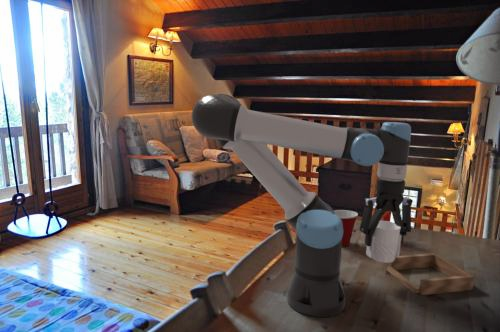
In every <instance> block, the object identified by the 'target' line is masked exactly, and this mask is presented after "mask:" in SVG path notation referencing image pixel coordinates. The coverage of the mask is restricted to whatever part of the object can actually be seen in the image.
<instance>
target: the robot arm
mask: <svg viewBox="0 0 500 332" xmlns="http://www.w3.org/2000/svg"><path fill="white" fill-rule="evenodd" d="M191 121H192V124H193V127H194V128H195V131H197V132H198V133H199V134H200V135H201V136H202V137H205V138H208V139H212V140H215V141H216V142H217V143H218V144H219V146H221V148H222V149H226V150H231V151H232V152H233V153H234V154H235V156H236V157H237V158H238V159H239V160H240V161H241V162H242V163H243V165H244V166H245V167H246V168H247V169H248V170H249V172H251V174H252V175H253V176H254V177H255V178H256V179H257V181H258V182H259V183H260V184H261V185H262V186H263V188H265V190H266V191H267V192H268V193H269V194H270V195H271V197H272V198H273V199H274V200H275V201H276V202H277V203H278V204H279V206H280V207H281V208H282V209H283V210H284V213H285V214H284V219H285V220H286V222H287V223H289V225H290V226H291V227H292V228H293V230H294V231H295V233H296V235H295V253H294V254H295V255H294V257H295V260H294V272H293V275H292V277H291V280H290V282H289V285H288V288H287V292H286V301H287V304H288V305H289V306H290V307H291V308H292V309H293V310H294V311H296V312H298V313H300V314H303V315H306V316H311V317H317V318H326V317H332V316H333V317H334V316H335V315H338V314H340V313H341V312H342V311H344V308H345V306H346V295H345V291H344V287H343V283H342V280H341V279H342V278H341V263H342V260H341V259H342V237H343V223H342V220H341V219H340V218H339V216H337V215H336V214H335V213H334V209H333V208H332V207H331V206H330V204H328V203H326V202H324V201H323V200H322V199H321V197H320V196H318V194H317V193H316V192H315V191H314V192H313V191H307V190H306V188H305V187H304V186H303V185H302V184H301V182H299V180H298V179H297V178H296V177H295V176H294V175H293V173H291V171H290V170H289V169H288V168H287V166H285V164H284V163H283V162H282V161H281V160H280V158H279V157H278V156H277V155H276V154H275V153H274V152H273V151H272V149H271V148H270V147H269V146H275V147H281V148H285V149H290V150H294V151H295V150H296V151H301V152H306V153H311V154H316V155H320V156H321V155H322V156H326V157H331V158H336V159H341V160H345V161H350V162H353V163H356V164H357V165H359V166H364V167H371V166H374V165H376V164H378V165H377V173H376V175H377V178H376V181H375V182H376V183H375V195H374V196H373V197H371V198H368V197H365V198H364V209H363V213H362V216H361V222H360V224H359V225H360V226H359V231H360V232H361V233H363V234H364V235H365V236H364V237H365V239H364V244H365V246H366V251H365V255H366V256H367V257H369V258H370V259H372V258H373V255H374V246H375V236H374V235H373V234H374V232H375V230H376V227H377V225H378V223H379V221H380V219H381V217H382V215H384V214H385V212H387V211H391V216H392V219H393V223H395V224H396V225H397V226H400V227H401V230H400V235H399V241H398V246H397V251H396V256H397V257H399V256H400V253H401V246H402V245H403V243H404V237H405V236H407V234H408V233H410V232H412V204H413V199H411V198H410V197H407V196H405V197H404V193H405V189H406V188H405V187H406V181H405V179H406V178H407V170H408V161H409V153H410V145H411V137H412V136H411V135H412V127H411V125H410V124H409V123H406V122H399V121H398V122H396V121H391V122H390V121H385V122H383V123H382V126H381V127H380V128H361V127H360V128H359V127H358V128H357V127H351V126H349V127H340V126H334V125H330V124H329V125H328V124H324V123H319V122H314V121H309V120H303V119H298V118H293V117H289V116H283V115H278V114H272V113H269V112H263V111H256V110H252V109H248V108H247V107H246V106H245V105H244V104H242V103H241V102H240V101H239V100H238V99H237V98H235V97H234V96H232V95H229V94H227V93H218V94H207V95H205V96H202V97H201V98H199V99H198V100H197V101H196V103H195V104H194V106H193V109H192V111H191ZM268 145H269V146H268ZM375 202H376V204H377V205H376V207H375V209H374V213H373V215H372V212H373V206H374V205H375V204H374V203H375ZM400 206H401V208H400ZM380 209H381V210H380Z"/></svg>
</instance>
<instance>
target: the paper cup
mask: <svg viewBox="0 0 500 332" xmlns="http://www.w3.org/2000/svg"><path fill="white" fill-rule="evenodd" d="M374 204H375V205H374V206H373V212H372V215H373V213H374V209H375V207H376V205H377V204H376V202H375V203H374ZM380 210H381V209H380ZM391 217H392V212H391V211H387V212H385V214H384V215H382V217H381V219H380V221H388V222H391V219H392V218H391Z"/></svg>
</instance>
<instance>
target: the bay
mask: <svg viewBox="0 0 500 332" xmlns="http://www.w3.org/2000/svg"><path fill="white" fill-rule="evenodd" d="M388 264H389V265H388V266H387V267H386V272H388V273H389V274H390V275H392V276H393V277H394V278H396V280H398V281H399V282H400V283H401V284H403V285H404V286H406V288H408V289H409V290H410V291H411V292H412V293H413V294H420V295H421V296H424V295H425V296H427V295H435V294H446V293H454V292H464V291H466V292H467V291H473V289H474V288H473V287H474V281H475V280H474V279H475V277H474V276H473V275H472V274H470V273H468V272H467V271H466V270H463V269H462V268H461V267H459V266H457V265H456V264H453V263H452V262H451V261H449V260H447V259H446V258H444V257H442V256H441V255H439V254H437V253H435V252H432V253H422V254H421V253H420V254H408V255H407V254H406V255H399V257H397V256H395V260H394V261H393V262H390V263H388ZM431 267H432V268H434V269H436V270H437V271H439V272H440V273H442V274H443V275H445V276H444V277H433V278H422V279H420V283H419V287H418V286H417V285H415V284H414V283H413V282H412V281H411V280H409V279H408V278H407V277H405V276H404V275H403V274H401V273H400V272H399V270H409V269H411V270H412V269H419V268H420V269H421V268H431ZM397 270H398V271H397Z"/></svg>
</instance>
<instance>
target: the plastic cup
mask: <svg viewBox="0 0 500 332" xmlns="http://www.w3.org/2000/svg"><path fill="white" fill-rule="evenodd" d="M333 211H334V213H335V214H336V215H337V216H339V218H340V219H341V220H342V223H343V237H342V247H349V245H350V244H351V239H352V236H353V232H354V227H355V223H356V221H357V217H358V216H359V214H358V212H357V211H353V210H347V209H346V210H345V209H335V210H334V209H333Z"/></svg>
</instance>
